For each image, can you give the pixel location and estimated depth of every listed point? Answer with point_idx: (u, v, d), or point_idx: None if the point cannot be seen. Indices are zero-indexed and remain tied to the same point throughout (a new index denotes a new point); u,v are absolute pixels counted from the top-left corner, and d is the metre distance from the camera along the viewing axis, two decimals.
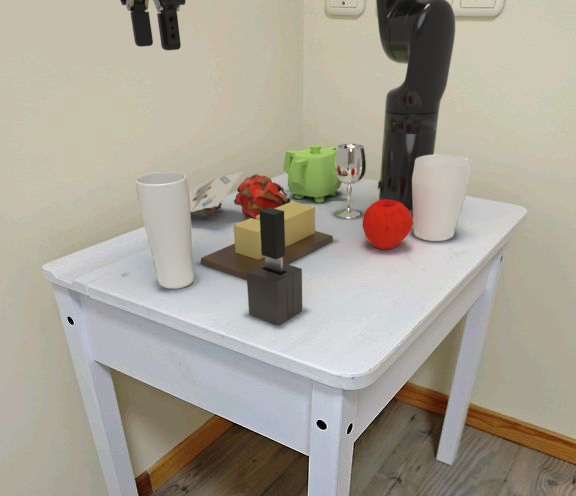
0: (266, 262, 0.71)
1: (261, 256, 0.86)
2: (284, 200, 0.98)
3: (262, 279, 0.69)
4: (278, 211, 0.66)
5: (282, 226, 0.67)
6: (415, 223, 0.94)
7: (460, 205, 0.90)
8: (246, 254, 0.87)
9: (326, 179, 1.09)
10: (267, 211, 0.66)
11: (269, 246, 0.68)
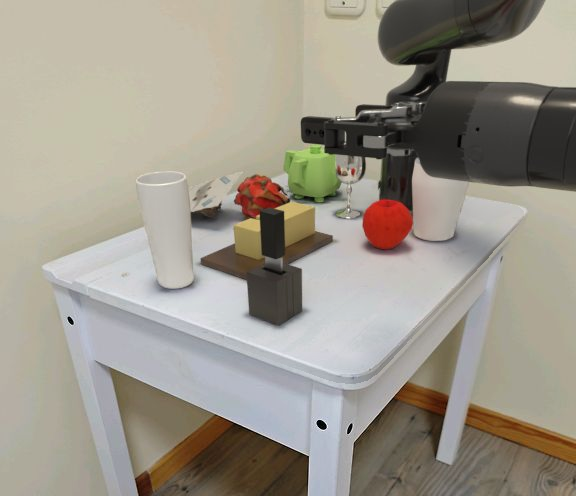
0: (266, 262, 0.71)
1: (261, 256, 0.86)
2: (284, 200, 0.98)
3: (262, 279, 0.69)
4: (278, 211, 0.66)
5: (282, 226, 0.67)
6: (415, 223, 0.94)
7: (460, 205, 0.90)
8: (246, 254, 0.87)
9: (326, 179, 1.09)
10: (267, 211, 0.66)
11: (269, 246, 0.68)
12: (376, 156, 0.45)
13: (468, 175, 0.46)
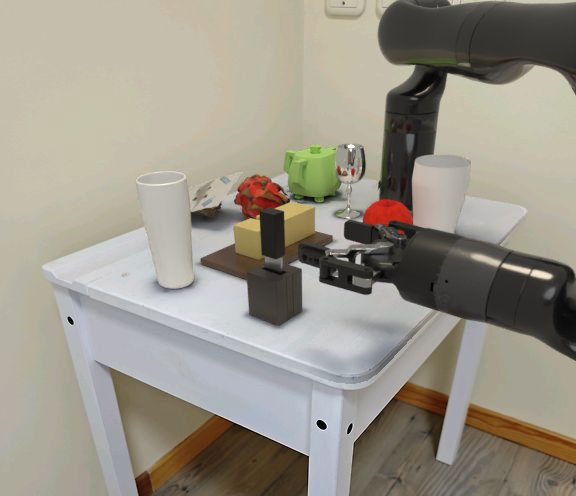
0: (266, 262, 0.71)
1: (261, 256, 0.86)
2: (284, 200, 0.98)
3: (262, 279, 0.69)
4: (278, 211, 0.66)
5: (281, 226, 0.67)
6: (415, 223, 0.94)
7: (460, 205, 0.90)
8: (246, 254, 0.87)
9: (326, 179, 1.09)
10: (267, 211, 0.66)
11: (269, 246, 0.68)
12: (363, 293, 0.54)
13: (438, 309, 0.55)
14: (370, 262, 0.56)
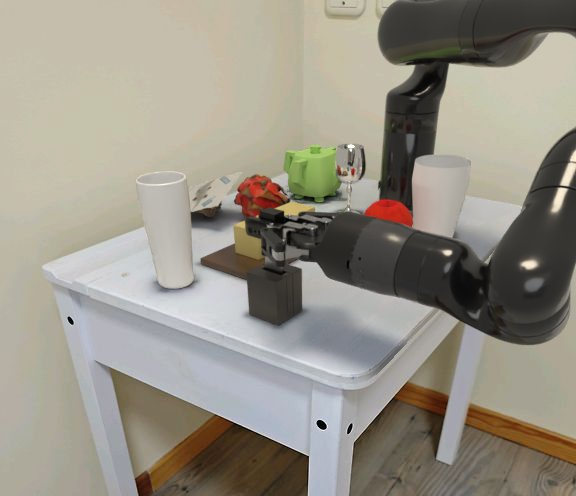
0: (266, 262, 0.71)
1: (261, 256, 0.86)
2: (284, 200, 0.98)
3: (262, 279, 0.69)
4: (278, 211, 0.66)
5: None
6: (415, 223, 0.94)
7: (460, 205, 0.90)
8: (246, 254, 0.87)
9: (326, 179, 1.09)
10: (267, 211, 0.66)
11: None
12: (275, 264, 0.61)
13: (357, 285, 0.60)
14: (296, 243, 0.61)
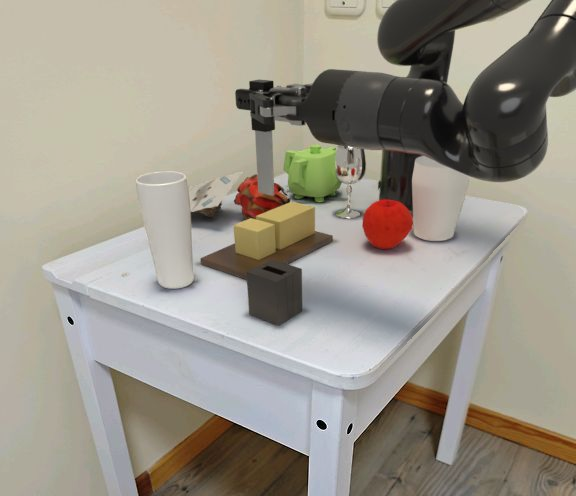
0: (256, 138, 0.72)
1: (261, 256, 0.86)
2: (284, 200, 0.98)
3: (262, 279, 0.69)
4: (267, 80, 0.68)
5: None
6: (415, 223, 0.94)
7: (460, 205, 0.90)
8: (246, 254, 0.87)
9: (326, 179, 1.09)
10: (257, 81, 0.68)
11: None
12: (263, 122, 0.63)
13: (343, 141, 0.62)
14: (283, 102, 0.63)
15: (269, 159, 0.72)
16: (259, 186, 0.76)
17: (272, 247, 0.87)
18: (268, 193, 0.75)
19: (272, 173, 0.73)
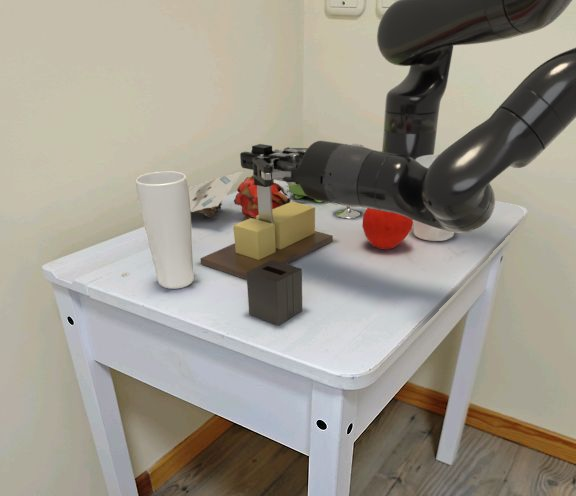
0: (258, 191, 0.86)
1: (261, 256, 0.86)
2: (284, 200, 0.98)
3: (262, 279, 0.69)
4: (267, 146, 0.81)
5: None
6: (415, 223, 0.94)
7: None
8: (246, 254, 0.87)
9: None
10: (258, 146, 0.81)
11: None
12: (264, 184, 0.76)
13: (330, 199, 0.75)
14: (281, 167, 0.76)
15: (269, 208, 0.86)
16: None
17: (272, 247, 0.87)
18: None
19: (272, 220, 0.87)
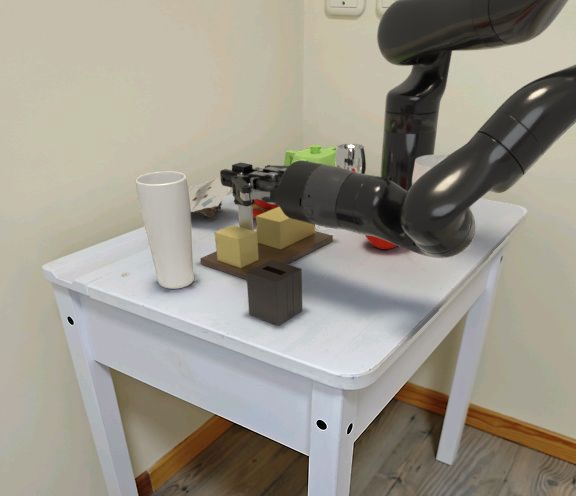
0: (239, 210, 0.84)
1: (243, 264, 0.84)
2: None
3: (262, 279, 0.69)
4: (247, 164, 0.79)
5: None
6: None
7: None
8: (228, 262, 0.85)
9: None
10: (238, 165, 0.80)
11: None
12: (242, 204, 0.74)
13: (309, 221, 0.73)
14: (259, 187, 0.74)
15: (250, 227, 0.84)
16: None
17: (255, 255, 0.85)
18: None
19: None
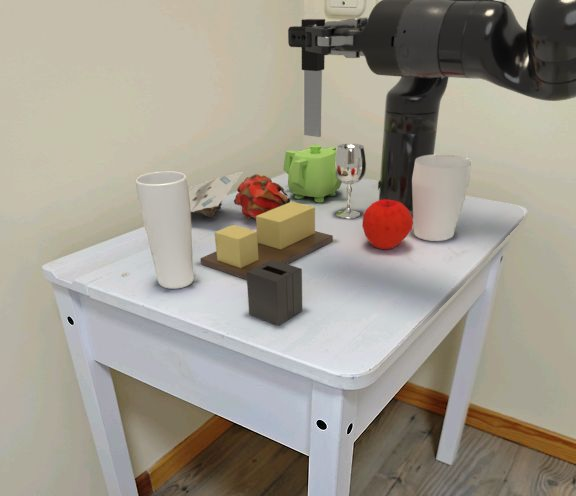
0: (305, 79, 0.74)
1: (243, 264, 0.84)
2: (284, 200, 0.98)
3: (262, 279, 0.69)
4: (319, 19, 0.69)
5: None
6: (415, 223, 0.94)
7: (460, 205, 0.90)
8: (228, 262, 0.85)
9: (326, 179, 1.09)
10: (309, 19, 0.70)
11: (310, 57, 0.71)
12: (321, 52, 0.64)
13: (400, 69, 0.63)
14: (340, 32, 0.64)
15: (317, 99, 0.74)
16: (305, 128, 0.77)
17: (255, 255, 0.85)
18: (315, 135, 0.77)
19: (320, 114, 0.75)
